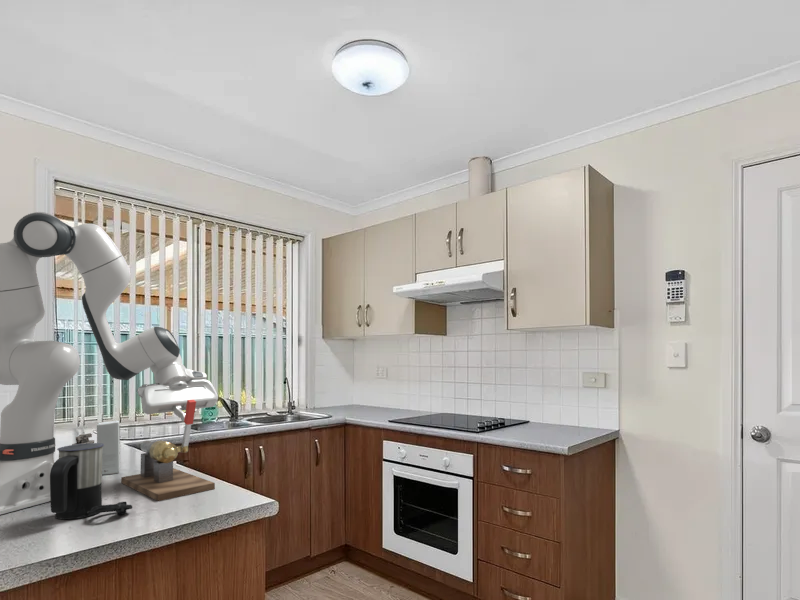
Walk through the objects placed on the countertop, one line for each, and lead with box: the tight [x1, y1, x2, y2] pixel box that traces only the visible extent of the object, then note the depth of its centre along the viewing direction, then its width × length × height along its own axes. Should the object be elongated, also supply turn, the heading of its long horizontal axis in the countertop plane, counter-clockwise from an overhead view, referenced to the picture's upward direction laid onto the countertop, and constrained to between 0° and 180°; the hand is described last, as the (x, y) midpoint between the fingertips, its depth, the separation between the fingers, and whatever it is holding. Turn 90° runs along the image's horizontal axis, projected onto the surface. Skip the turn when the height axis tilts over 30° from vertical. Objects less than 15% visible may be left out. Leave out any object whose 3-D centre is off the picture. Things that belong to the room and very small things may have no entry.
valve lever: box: [180, 399, 196, 454], centre depth 145 cm, size 2×2×15 cm
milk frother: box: [50, 442, 133, 520], centre depth 119 cm, size 14×16×15 cm
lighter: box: [71, 432, 95, 445], centre depth 170 cm, size 8×3×10 cm, turn 171°
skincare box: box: [96, 420, 121, 475], centre depth 161 cm, size 8×6×15 cm
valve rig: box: [120, 440, 216, 502], centre depth 142 cm, size 27×14×12 cm, turn 44°
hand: (188, 419), depth 146 cm, fingers closed, pressing on valve lever
